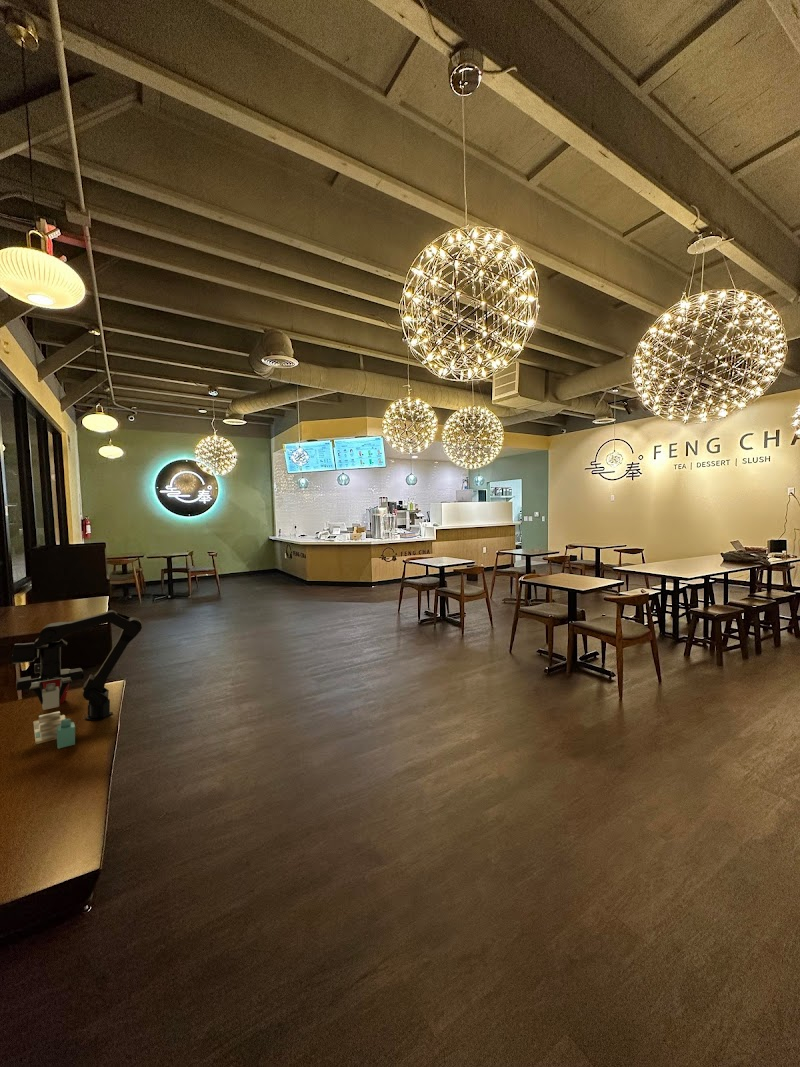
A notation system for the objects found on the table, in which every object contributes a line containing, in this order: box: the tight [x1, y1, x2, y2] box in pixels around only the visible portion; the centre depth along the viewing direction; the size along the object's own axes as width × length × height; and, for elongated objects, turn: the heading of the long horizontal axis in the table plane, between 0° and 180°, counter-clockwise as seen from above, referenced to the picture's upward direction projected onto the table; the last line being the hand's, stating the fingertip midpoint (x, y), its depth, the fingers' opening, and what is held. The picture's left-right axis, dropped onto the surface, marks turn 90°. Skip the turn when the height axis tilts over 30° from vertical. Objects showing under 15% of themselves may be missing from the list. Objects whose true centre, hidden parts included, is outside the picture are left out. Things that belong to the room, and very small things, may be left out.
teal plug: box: [56, 718, 76, 749], centre depth 145 cm, size 4×4×8 cm
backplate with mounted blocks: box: [32, 710, 67, 745], centre depth 154 cm, size 9×19×3 cm, turn 42°
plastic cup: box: [38, 668, 70, 705], centre depth 176 cm, size 11×11×12 cm
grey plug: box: [41, 683, 60, 711], centre depth 156 cm, size 4×4×8 cm
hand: (50, 702), depth 157 cm, fingers closed on grey plug, 4 cm apart
